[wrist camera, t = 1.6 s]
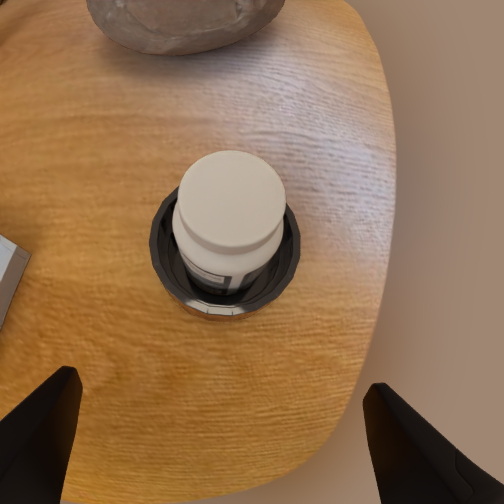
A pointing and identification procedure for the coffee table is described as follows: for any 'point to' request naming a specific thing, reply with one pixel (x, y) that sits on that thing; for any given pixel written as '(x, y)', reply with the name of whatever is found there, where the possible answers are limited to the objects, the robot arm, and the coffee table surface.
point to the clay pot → (181, 23)
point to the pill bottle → (228, 220)
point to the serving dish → (10, 272)
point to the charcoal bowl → (213, 305)
